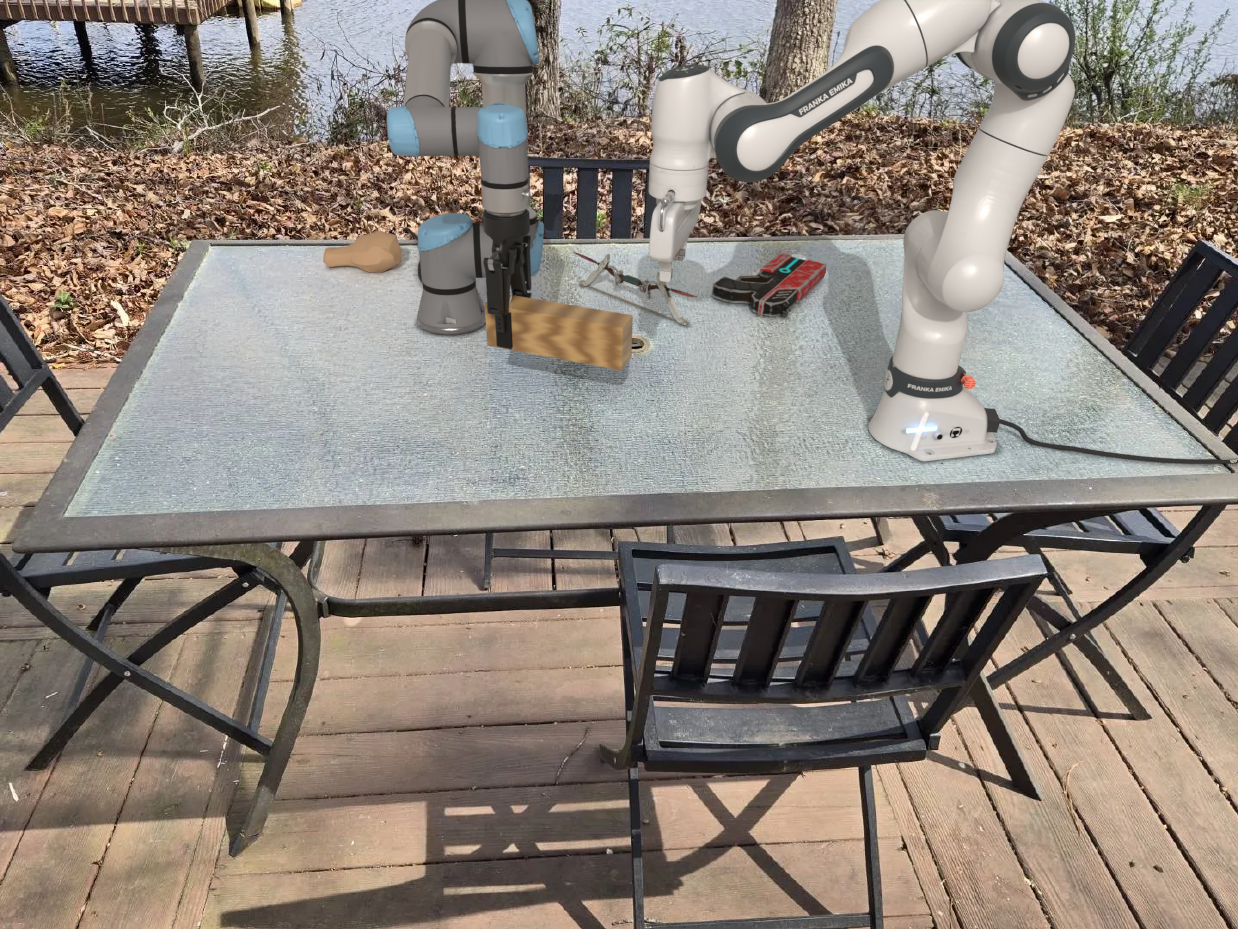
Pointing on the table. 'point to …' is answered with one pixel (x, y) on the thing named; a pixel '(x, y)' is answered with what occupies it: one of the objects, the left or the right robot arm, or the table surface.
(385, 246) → the squash
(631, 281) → the bow
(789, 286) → the gun
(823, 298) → the table surface
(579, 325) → the bar
